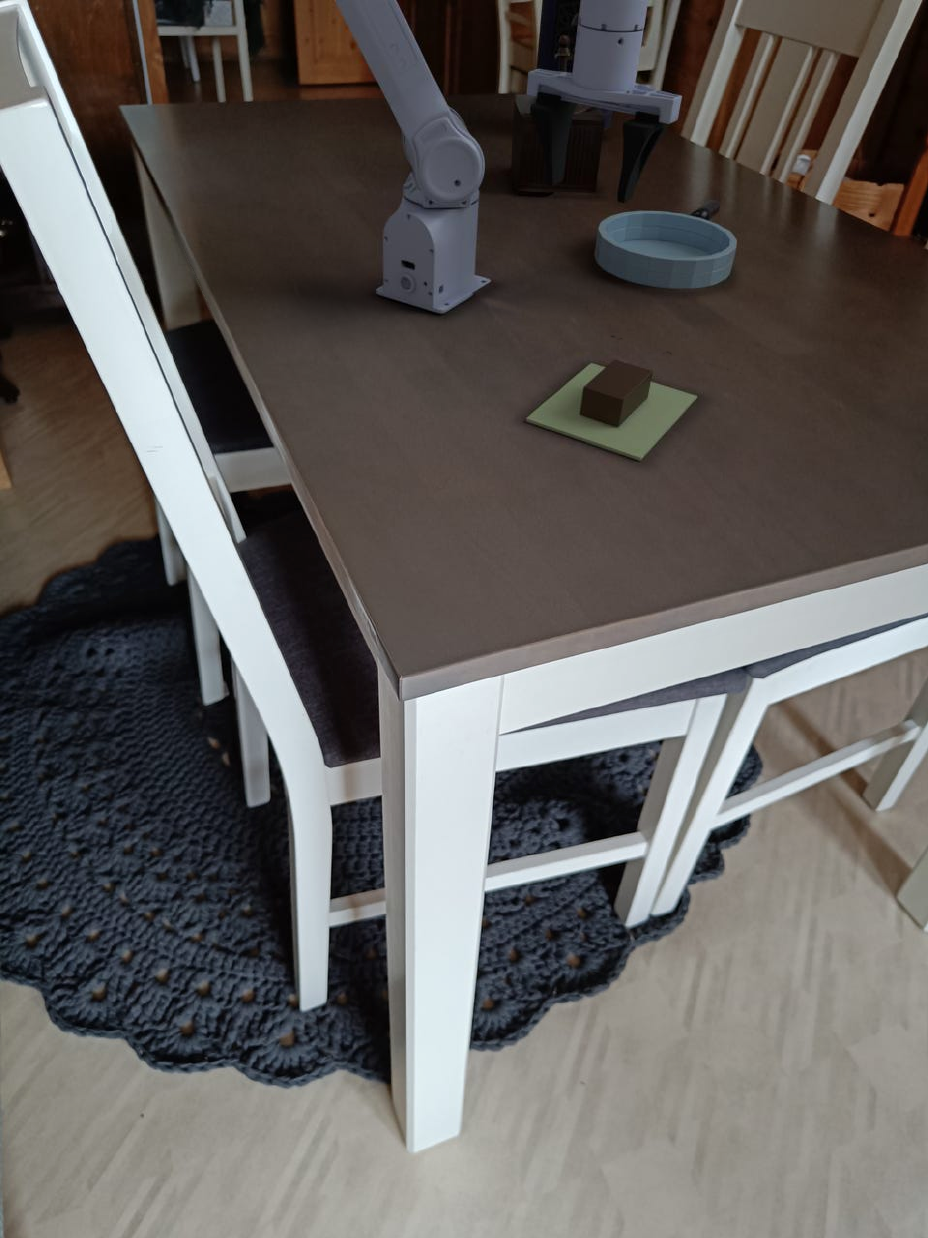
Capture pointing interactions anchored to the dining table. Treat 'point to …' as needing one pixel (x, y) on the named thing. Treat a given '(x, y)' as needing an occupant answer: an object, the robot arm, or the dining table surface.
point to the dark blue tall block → (556, 22)
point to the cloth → (626, 439)
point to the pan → (665, 249)
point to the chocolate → (615, 393)
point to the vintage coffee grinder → (580, 143)
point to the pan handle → (707, 210)
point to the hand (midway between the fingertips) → (589, 191)
